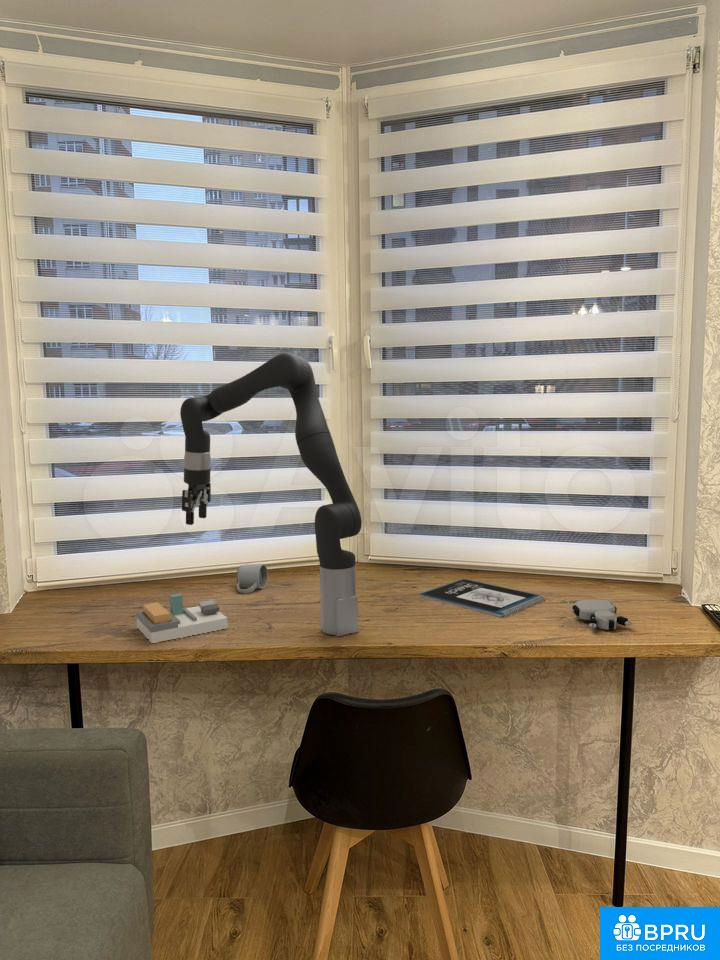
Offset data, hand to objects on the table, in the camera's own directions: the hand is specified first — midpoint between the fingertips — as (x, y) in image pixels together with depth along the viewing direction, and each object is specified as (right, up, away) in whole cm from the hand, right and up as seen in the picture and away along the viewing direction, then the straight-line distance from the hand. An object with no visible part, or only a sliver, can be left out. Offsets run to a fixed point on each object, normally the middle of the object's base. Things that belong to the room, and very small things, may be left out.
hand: (196, 521), depth 213 cm
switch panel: (+1, -27, -21) cm, 34 cm away
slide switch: (-1, -24, -18) cm, 30 cm away
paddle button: (-5, -23, -25) cm, 34 cm away
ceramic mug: (+14, -22, +14) cm, 30 cm away
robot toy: (+110, -26, -22) cm, 116 cm away
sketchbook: (+84, -23, +1) cm, 87 cm away
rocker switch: (+7, -23, -17) cm, 29 cm away
